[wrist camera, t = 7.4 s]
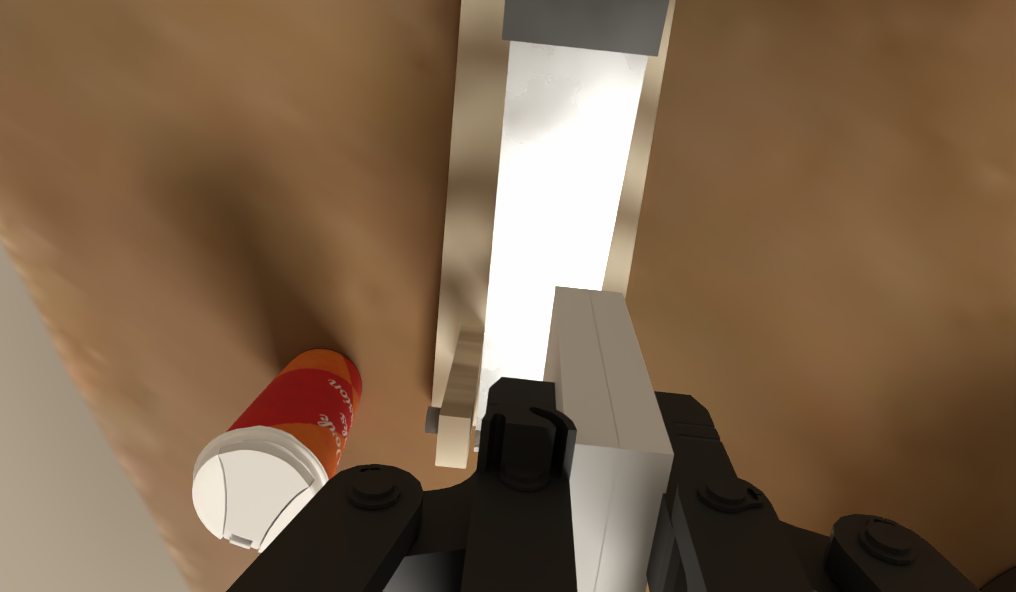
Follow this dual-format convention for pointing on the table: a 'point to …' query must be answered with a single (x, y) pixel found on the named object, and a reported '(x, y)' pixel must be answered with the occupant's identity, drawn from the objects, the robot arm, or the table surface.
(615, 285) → the press base
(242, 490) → the paper cup
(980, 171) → the table surface
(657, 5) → the lever
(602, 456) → the robot arm
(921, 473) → the table surface
